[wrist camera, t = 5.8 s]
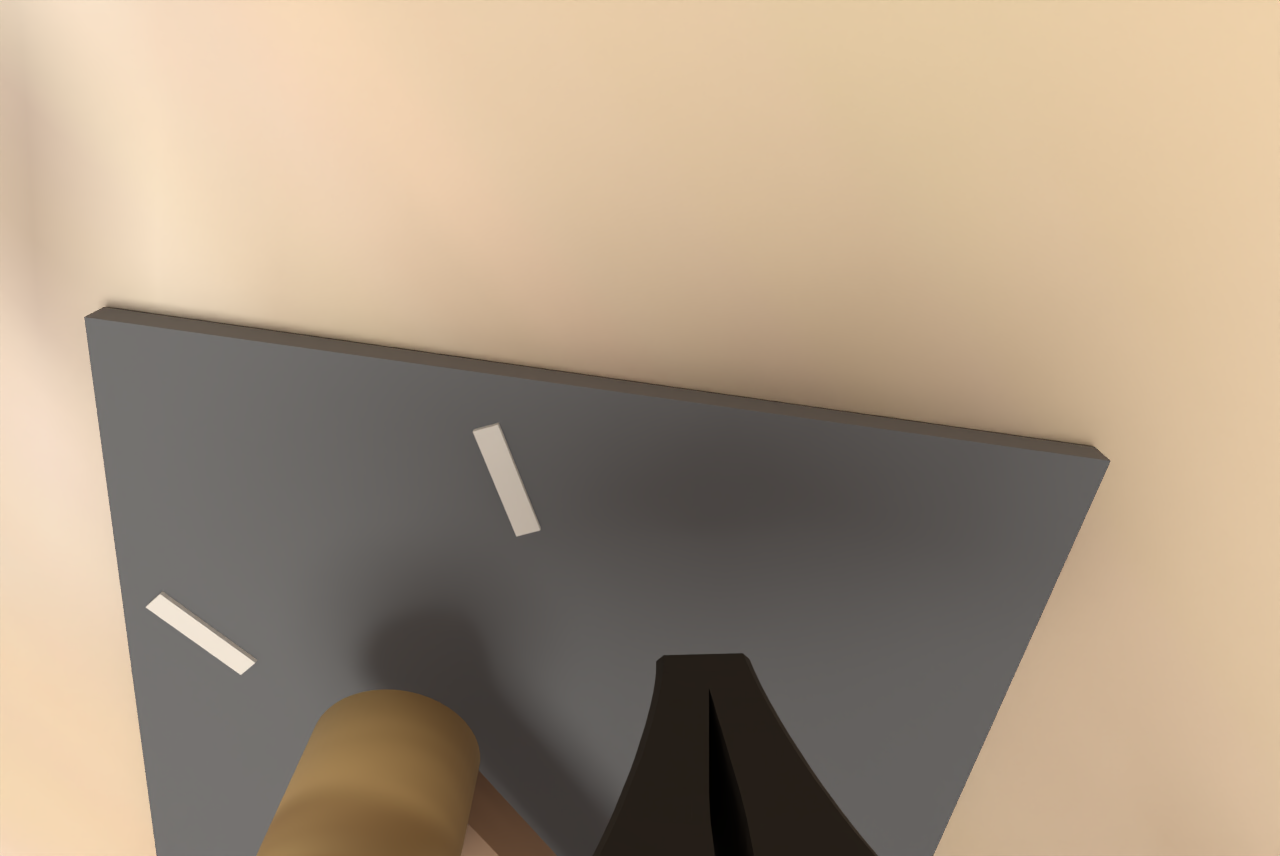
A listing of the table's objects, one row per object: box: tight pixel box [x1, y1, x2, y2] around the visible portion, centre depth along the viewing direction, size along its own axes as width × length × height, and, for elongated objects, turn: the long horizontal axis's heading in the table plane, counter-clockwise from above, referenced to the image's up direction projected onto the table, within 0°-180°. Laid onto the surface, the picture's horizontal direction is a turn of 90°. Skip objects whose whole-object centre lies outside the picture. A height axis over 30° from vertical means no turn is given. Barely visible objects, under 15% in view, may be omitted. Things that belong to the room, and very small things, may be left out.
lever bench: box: [84, 307, 1110, 856], centre depth 19 cm, size 21×19×3 cm
